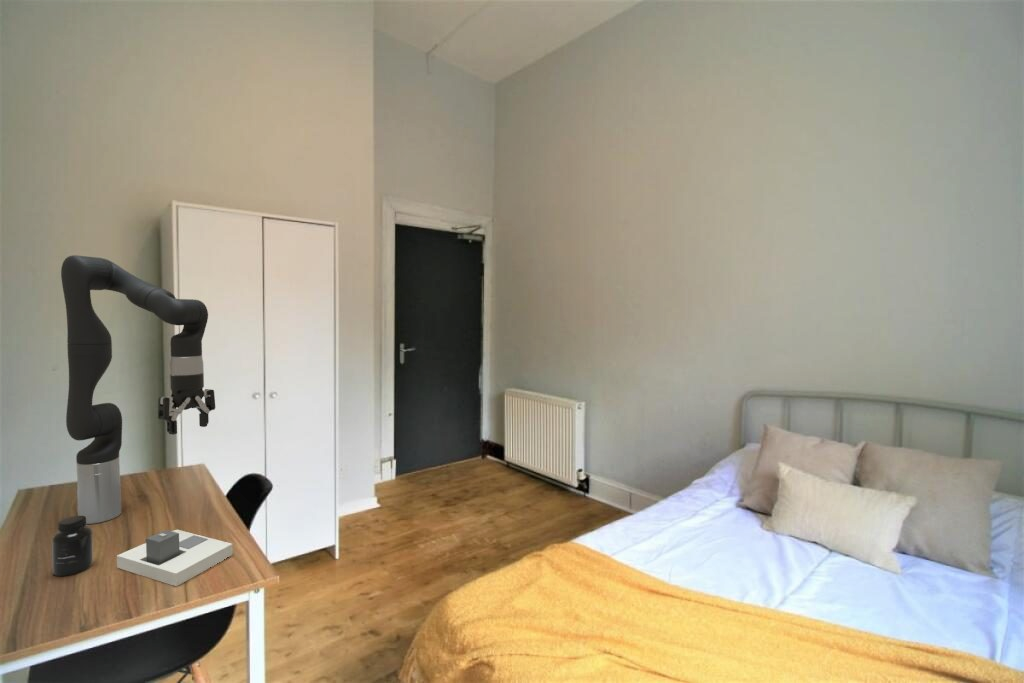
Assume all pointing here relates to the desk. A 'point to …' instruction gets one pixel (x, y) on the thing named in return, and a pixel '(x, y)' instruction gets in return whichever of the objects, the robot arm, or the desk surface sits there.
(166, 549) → the charger
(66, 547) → the supplement bottle
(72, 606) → the desk surface
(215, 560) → the outlet plate
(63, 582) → the desk surface
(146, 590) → the desk surface
